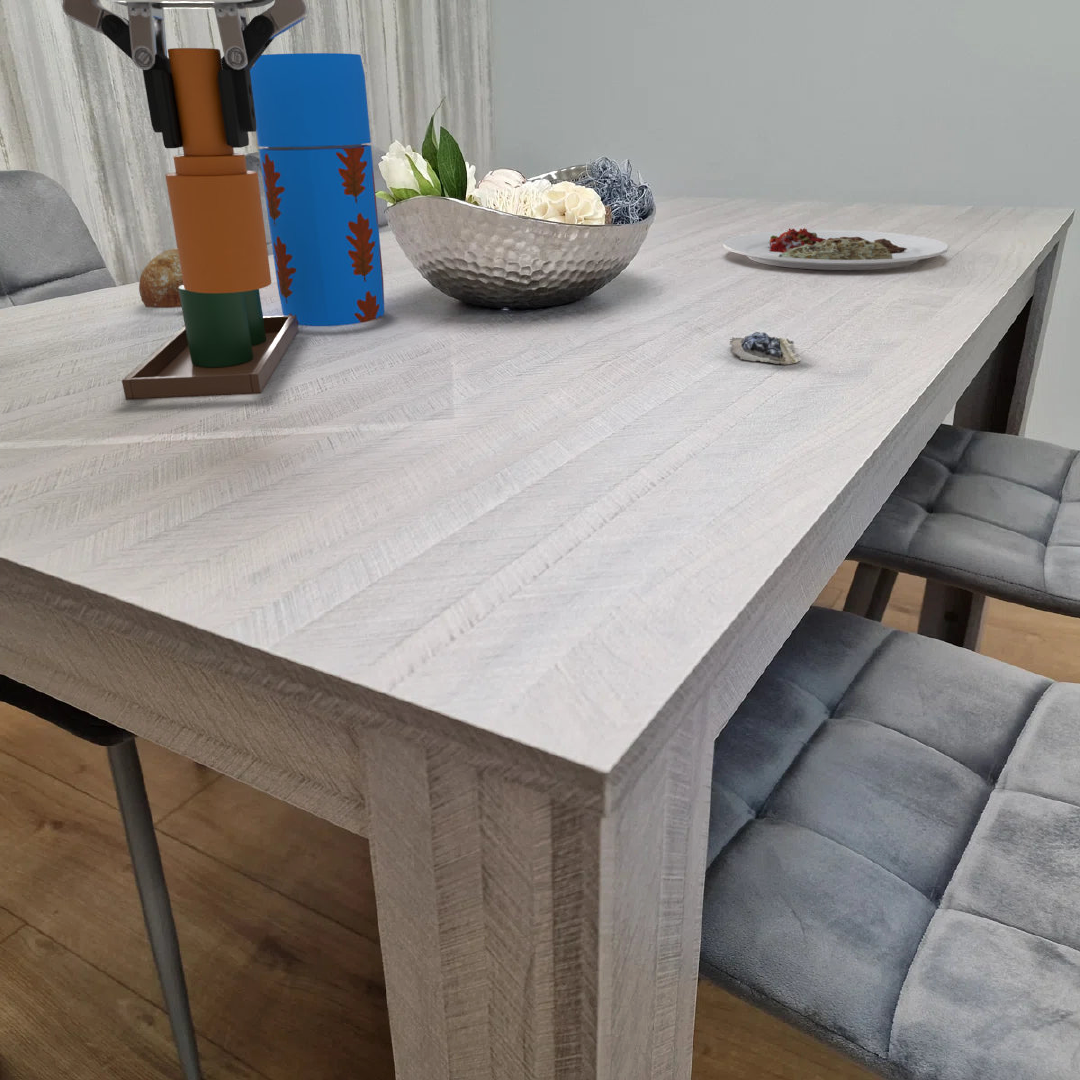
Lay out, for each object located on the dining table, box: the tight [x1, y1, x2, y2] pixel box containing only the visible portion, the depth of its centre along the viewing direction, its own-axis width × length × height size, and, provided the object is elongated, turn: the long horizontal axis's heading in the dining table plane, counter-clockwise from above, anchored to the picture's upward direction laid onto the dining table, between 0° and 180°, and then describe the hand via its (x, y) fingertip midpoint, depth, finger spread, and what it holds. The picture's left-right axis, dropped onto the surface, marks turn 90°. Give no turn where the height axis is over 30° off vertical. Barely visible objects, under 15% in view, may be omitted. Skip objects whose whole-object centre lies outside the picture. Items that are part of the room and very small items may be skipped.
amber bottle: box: [165, 47, 272, 293], centre depth 55 cm, size 5×5×13 cm
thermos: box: [250, 52, 385, 327], centre depth 94 cm, size 11×11×25 cm
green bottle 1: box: [178, 285, 253, 368], centre depth 80 cm, size 5×5×13 cm
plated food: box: [723, 227, 949, 271], centre depth 131 cm, size 30×30×3 cm
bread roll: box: [138, 248, 183, 309], centre depth 109 cm, size 10×10×8 cm
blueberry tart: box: [729, 331, 802, 366], centre depth 83 cm, size 7×8×2 cm
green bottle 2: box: [243, 289, 266, 346], centre depth 86 cm, size 5×5×13 cm
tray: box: [121, 315, 299, 401], centre depth 82 cm, size 10×22×2 cm, turn 6°
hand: (207, 143), depth 55 cm, fingers closed on amber bottle, 2 cm apart
